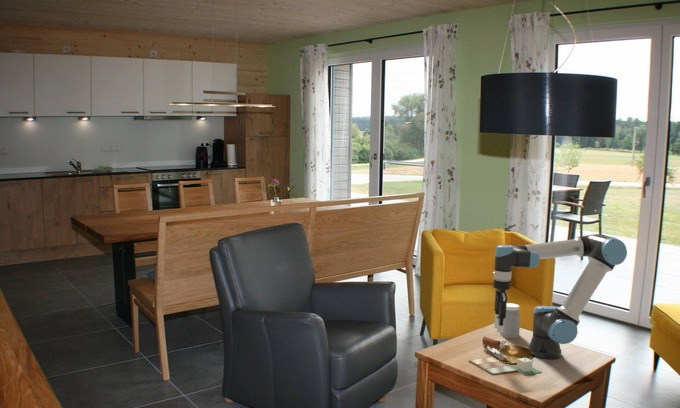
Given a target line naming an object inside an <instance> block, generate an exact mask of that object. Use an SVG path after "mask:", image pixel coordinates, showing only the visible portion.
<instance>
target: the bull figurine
mask: <svg viewBox="0 0 680 408" xmlns="http://www.w3.org/2000/svg"><path fill="white" fill-rule="evenodd" d="M506 343H507V341H506V340H505V341H504V340H502V339H495V338H491V337H487V336H483V338H482V347H483V348H482V349H484V350H485V351H486V352H488V347H489V348H490V349H491V350H493V349H494V350H495V349H497V351H498V350H503V348H506V345H505V344H506Z"/></svg>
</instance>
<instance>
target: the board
mask: <svg viewBox="0 0 680 408" xmlns="http://www.w3.org/2000/svg"><path fill="white" fill-rule="evenodd" d="M496 358H497V357H495V358H494V356H491V357H483V358H476V359H470V360H468V362H469V363H470V364H473V365H474V366H476V367H477V368H479V369H481V370H483V371H484V372H486V373H488V374H490V375H491V376H495V375H496V376H497V375H502V374H509V373H517V372H518V371H519V370H517V369H516V368H514V367H512V366H510V365H508V364H505V363H506V362H504V361H502V360H500V359H498V358H497V359H498V360H497V359H496ZM499 360H500V361H499ZM501 361H502V362H501ZM503 362H504V363H503Z"/></svg>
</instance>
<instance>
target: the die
mask: <svg viewBox="0 0 680 408" xmlns="http://www.w3.org/2000/svg"><path fill="white" fill-rule="evenodd" d="M517 361H518V363H517V369H519V370H521V371H523V372H527V371H532V368H533V360H531V359H530V358H527V357H522V358H517Z"/></svg>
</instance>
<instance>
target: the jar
mask: <svg viewBox="0 0 680 408" xmlns="http://www.w3.org/2000/svg"><path fill="white" fill-rule="evenodd" d="M520 323H521V314H520V304H516V303H514V302H513V303H512V302H507V304H506V318H504V330H503V333H502V332H499V335H500V336H501V337H504V338H508V339H517V338H519V337H520V328H521V327H520V326H521V324H520Z"/></svg>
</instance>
